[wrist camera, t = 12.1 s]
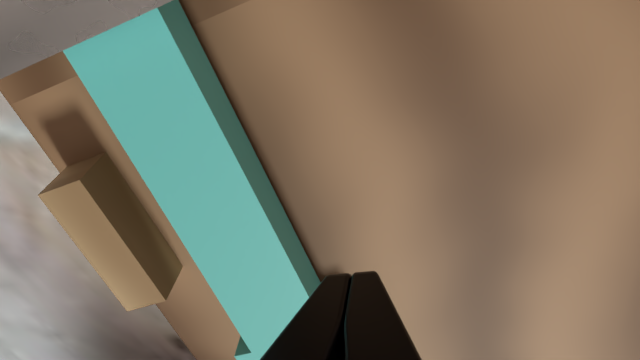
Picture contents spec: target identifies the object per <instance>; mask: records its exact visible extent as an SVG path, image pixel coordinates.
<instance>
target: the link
mask: <svg viewBox="0 0 640 360" xmlns="http://www.w3.org/2000/svg"><path fill="white" fill-rule="evenodd" d="M63 52H64V54H65V55H66V57H67V59H68V60H69V62H70V63H71V65H72V67H73V68H74V70H75V71H76V73H77V75H78V76H79V78H80V79H81V81H82V83H83V84H84V86H85V87H86V89H87V91H88V92H89V94H90V95H91V97H92V99H93V100H94V102H95V103H96V105H97V107H98V108H99V110H100V111H101V113H102V115H103V116H104V118H105V119H106V121H107V123H108V124H109V126H110V127H111V129H112V131H113V132H114V134H115V135H116V137H117V139H118V140H119V142H120V143H121V145H122V147H123V148H124V150H125V151H126V153H127V155H128V156H129V158H130V159H131V161H132V163H133V164H134V166H135V167H136V169H137V171H138V172H139V174H140V175H141V177H142V179H143V180H144V182H145V183H146V185H147V187H148V188H149V190H150V191H151V193H152V195H153V196H154V198H155V199H156V201H157V203H158V204H159V206H160V207H161V209H162V211H163V212H164V214H165V215H166V217H167V219H168V220H169V222H170V223H171V225H172V227H173V228H174V230H175V231H176V233H177V235H178V236H179V238H180V239H181V241H182V243H183V244H184V246H185V247H186V249H187V251H188V252H189V254H190V255H191V257H192V259H193V260H194V262H195V263H196V265H197V267H198V268H199V270H200V271H201V273H202V275H203V276H204V278H205V279H206V281H207V283H208V284H209V286H210V287H211V289H212V291H213V292H214V294H215V295H216V297H217V299H218V300H219V302H220V303H221V305H222V307H223V308H224V310H225V311H226V313H227V315H228V316H229V318H230V319H231V321H232V323H233V324H234V326H235V327H236V329H237V331H238V332H239V334H240V335H241V336H240V339H239V342H238V346H237V349H236V352H235V355H234V357H235V359H236V360H260V359H261V357H262V356H263V355H264V354H265V352H266V351H267V350H268V349H269V347H270V346H271V345H272V344H273V342H274V341H275V340H276V338H277V337H278V336H279V335H280V333H281V332H282V331H283V330H284V328H285V327H286V326H287V325H288V323H289V322H290V321H291V320H292V318H293V317H294V316H295V314H296V313H297V312H298V311H299V309H300V308H301V307H302V306H303V304H304V303H305V302H306V301H307V299H308V298H309V297H310V296H311V294H312V293H313V292H314V291H315V289H316V288H317V287H318V285H319V284H320V283H321V282H320V280H319V278H318V276H317V275H316V273H315V271H314V269H313V267H312V265H311V263H310V261H309V259H308V257H307V255H306V253H305V251H304V249H303V247H302V245H301V243H300V241H299V239H298V237H297V235H296V233H295V231H294V229H293V227H292V225H291V223H290V221H289V219H288V217H287V215H286V213H285V211H284V209H283V207H282V205H281V203H280V201H279V199H278V197H277V195H276V193H275V191H274V189H273V187H272V185H271V183H270V181H269V179H268V177H267V175H266V173H265V171H264V169H263V167H262V165H261V163H260V161H259V159H258V157H257V155H256V153H255V151H254V149H253V147H252V145H251V144H250V142H249V140H248V138H247V136H246V134H245V132H244V130H243V128H242V126H241V124H240V122H239V120H238V118H237V116H236V114H235V112H234V110H233V108H232V106H231V104H230V102H229V100H228V98H227V96H226V94H225V92H224V90H223V88H222V86H221V84H220V82H219V80H218V78H217V76H216V74H215V72H214V70H213V68H212V66H211V64H210V62H209V60H208V58H207V56H206V54H205V52H204V50H203V48H202V46H201V44H200V42H199V40H198V38H197V36H196V34H195V32H194V30H193V28H192V26H191V24H190V22H189V20H188V18H187V16H186V14H185V12H184V11H183V9H182V7H181V5H180V3H179V1H178V0H173V1H171V2H168V3H166V4H164V5H162V6H160V7H158V8H155V9H153V10H151V11H149V12H147V13H144V14H142V15H140V16H138V17H136V18H133V19H131V20H129V21H127V22H125V23H122V24H120V25H118V26H116V27H114V28H111V29H109V30H107V31H105V32H103V33H101V34H98V35H96V36H94V37H92V38H90V39H87V40H85V41H83V42H81V43H79V44H76V45H74V46H72V47H70V48H68V49H65V50H63Z"/></svg>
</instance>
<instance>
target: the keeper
mask: <svg viewBox="0 0 640 360" xmlns="http://www.w3.org/2000/svg"><path fill="white" fill-rule="evenodd" d="M171 1H173V0H0V79H2V78H4V77H6V76H8V75H11V74H13V73H15V72H17V71H19V70H22V69H24V68H26V67H28V66H30V65H33V64H35V63H37V62H39V61H41V60H44V59H46V58H48V57H50V56H52V55H55V54H57V53H59V52H61V51H63V50H65V49H68V48H70V47H72V46H74V45H76V44H79V43H81V42H83V41H85V40H87V39H90V38H92V37H94V36H96V35H98V34H101V33H103V32H105V31H107V30H109V29H111V28H114V27H116V26H118V25H120V24H122V23H125V22H127V21H129V20H131V19H133V18H136V17H138V16H140V15H142V14H144V13H147V12H149V11H151V10H153V9H155V8H158V7H160V6H162V5H164V4H166V3H168V2H171Z"/></svg>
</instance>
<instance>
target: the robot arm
mask: <svg viewBox="0 0 640 360" xmlns="http://www.w3.org/2000/svg"><path fill="white" fill-rule="evenodd" d="M260 360H422V359H421V357H420V355H419V353H418V351H417V349H416V347H415V345H414V343H413V341H412V339H411V337H410V335H409V334H408V332H407V330H406V328H405V326H404V324H403V322H402V320H401V318H400V316H399V314H398V312H397V310H396V308H395V306H394V304H393V302H392V300H391V298H390V296H389V294H388V292H387V290H386V288H385V286H384V284H383V282H382V280H381V278H380V277H379V275H378V273H377V272H376V271H364V272H355V273H354V274H353V275H351V274H349V273H340V274H330V275H327V276H326V277H325V278H324V279H323V280H322V282H321V283H320V284H319V285H318V287H317V288H316V289H315V291H314V292H313V293H312V294H311V296H310V297H309V298H308V299H307V301H306V302H305V303H304V304H303V306H302V307H301V308H300V309H299V311H298V312H297V313H296V314H295V316H294V317H293V318H292V320H291V321H290V322H289V323H288V325H287V326H286V327H285V328H284V330H283V331H282V332H281V333H280V335H279V336H278V337H277V338H276V340H275V341H274V342H273V344H272V345H271V346H270V347H269V349H268V350H267V351H266V352H265V354H264V355H263V356H262V357H261V359H260Z"/></svg>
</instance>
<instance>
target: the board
mask: <svg viewBox="0 0 640 360" xmlns="http://www.w3.org/2000/svg"><path fill="white" fill-rule="evenodd" d="M178 1H179V3H180V5H181V7H182V9H183V11H184V12H185V14H186V16H187V18H188V20H189V22H190V24H191V26H192V28H193V30H194V32H195V34H196V36H197V38H198V40H199V42H200V44H201V46H202V48H203V50H204V52H205V54H206V56H207V58H208V60H209V62H210V64H211V66H212V68H213V70H214V72H215V74H216V76H217V78H218V80H219V82H220V84H221V86H222V88H223V90H224V92H225V94H226V96H227V98H228V100H229V102H230V104H231V106H232V108H233V110H234V112H235V114H236V116H237V118H238V120H239V122H240V124H241V126H242V128H243V130H244V132H245V134H246V136H247V138H248V140H249V142H250V144H251V145H252V147H253V149H254V151H255V153H256V155H257V157H258V159H259V161H260V163H261V165H262V167H263V169H264V171H265V173H266V175H267V177H268V179H269V181H270V183H271V185H272V187H273V189H274V191H275V193H276V195H277V197H278V199H279V201H280V203H281V205H282V207H283V209H284V211H285V213H286V215H287V217H288V219H289V221H290V223H291V225H292V227H293V229H294V231H295V233H296V235H297V237H298V239H299V241H300V243H301V245H302V247H303V249H304V251H305V253H306V255H307V257H308V259H309V261H310V263H311V265H312V267H313V269H314V271H315V273H316V275H317V276H318V278H319V280H320V282H322V280H323V279H324V278H325V277H326V276H327V275H330V274H340V273H349V274H351V275H353V274H354V273H355V272H364V271H376V272H377V273H378V275H379V277H380V278H381V280H382V282H383V284H384V286H385V288H386V290H387V292H388V294H389V296H390V298H391V300H392V302H393V304H394V306H395V308H396V310H397V312H398V314H399V316H400V318H401V320H402V322H403V324H404V326H405V328H406V330H407V332H408V334H409V335H410V337H411V339H412V341H413V343H414V345H415V347H416V349H417V351H418V353H419V355H420V357H421V359H422V360H640V0H178ZM0 91H1V93H2V94H3V96H4V97H5V98H6V100H7V101H8V102H9V104H10V105H11V107H12V108H13V109H14V111H15V112H16V113H17V115H18V116H19V117H20V119H21V120H22V122H23V123H24V124H25V126H26V127H27V128H28V130H29V131H30V133H31V134H32V135H33V137H34V138H35V139H36V141H37V142H38V143H39V145H40V146H41V148H42V149H43V150H44V152H45V153H46V154H47V156H48V157H49V159H50V160H51V161H52V163H53V164H54V165H55V167H56V168H57V170H58V171H59V172H60V174H59V175H58V176H57V177H56V178H55V179H54V180H53V181H52V182H51V183H50V184H49V185H48V186H47V187H46V188H45V189H44V190H43V191H42V192H41V193H40V194H39V195H38V196H39V197H40V199H41V200H42V201H43V202H44V204H45V205H46V206H47V208H48V209H49V210H50V212H51V213H52V214H53V216H54V217H55V218H56V219H57V221H58V222H59V223H60V225H61V226H62V227H63V229H64V230H65V231H66V232H67V234H68V235H69V236H70V238H71V239H72V240H73V242H74V243H75V244H76V246H77V247H78V248H79V249H80V251H81V252H82V253H83V255H84V256H85V257H86V259H87V260H88V261H89V262H90V264H91V265H92V266H93V268H94V269H95V270H96V272H97V273H98V274H99V275H100V277H101V278H102V279H103V281H104V282H105V283H106V285H107V286H108V287H109V289H110V290H111V291H112V292H113V294H114V295H115V296H116V298H117V299H118V300H119V302H120V303H121V304H122V305H123V307H124V308H125V309H126V311H131V310H135V309H138V308H142V307H146V306H149V305H153V304H156V305H157V307H158V308H159V309H160V311H161V312H162V313H163V315H164V316H165V318H166V319H167V320H168V322H169V323H170V324H171V326H172V327H173V328H174V330H175V331H176V333H177V334H178V335H179V337H180V338H181V339H182V341H183V342H184V344H185V345H186V346H187V348H188V349H189V350H190V352H191V353H192V355H193V356H194V357H195V359H196V360H236V359H235V357H234V355H235V352H236V349H237V346H238V342H239V339H240V336H241V335H240V334H239V332H238V331H237V329H236V327H235V326H234V324H233V323H232V321H231V319H230V318H229V316H228V315H227V313H226V311H225V310H224V308H223V307H222V305H221V303H220V302H219V300H218V299H217V297H216V295H215V294H214V292H213V291H212V289H211V287H210V286H209V284H208V283H207V281H206V279H205V278H204V276H203V275H202V273H201V271H200V270H199V268H198V267H197V265H196V263H195V262H194V260H193V259H192V257H191V255H190V254H189V252H188V251H187V249H186V247H185V246H184V244H183V243H182V241H181V239H180V238H179V236H178V235H177V233H176V231H175V230H174V228H173V227H172V225H171V223H170V222H169V220H168V219H167V217H166V215H165V214H164V212H163V211H162V209H161V207H160V206H159V204H158V203H157V201H156V199H155V198H154V196H153V195H152V193H151V191H150V190H149V188H148V187H147V185H146V183H145V182H144V180H143V179H142V177H141V175H140V174H139V172H138V171H137V169H136V167H135V166H134V164H133V163H132V161H131V159H130V158H129V156H128V155H127V153H126V151H125V150H124V148H123V147H122V145H121V143H120V142H119V140H118V139H117V137H116V135H115V134H114V132H113V131H112V129H111V127H110V126H109V124H108V123H107V121H106V119H105V118H104V116H103V115H102V113H101V111H100V110H99V108H98V107H97V105H96V103H95V102H94V100H93V99H92V97H91V95H90V94H89V92H88V91H87V89H86V87H85V86H84V84H83V83H82V81H81V79H80V78H79V76H78V75H77V73H76V71H75V70H74V68H73V67H72V65H71V63H70V62H69V60H68V59H67V57H66V55H65V54H64V52H63V51H61V52H59V53H57V54H55V55H52V56H50V57H48V58H46V59H44V60H41V61H39V62H37V63H35V64H33V65H30V66H28V67H26V68H24V69H22V70H19V71H17V72H15V73H13V74H11V75H8V76H6V77H4V78H2V79H0Z"/></svg>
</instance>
